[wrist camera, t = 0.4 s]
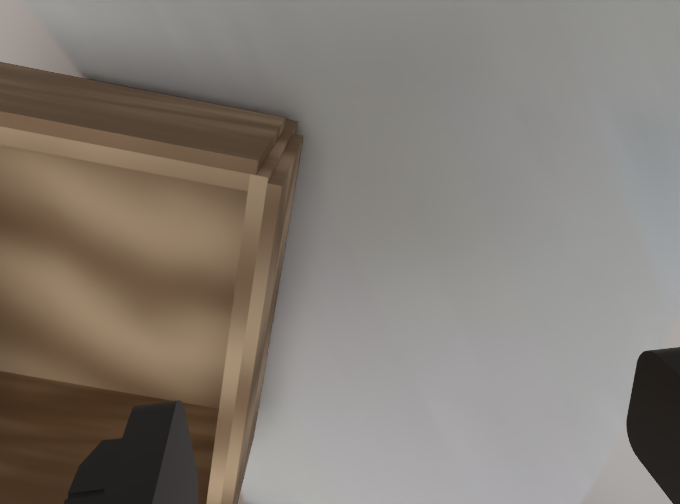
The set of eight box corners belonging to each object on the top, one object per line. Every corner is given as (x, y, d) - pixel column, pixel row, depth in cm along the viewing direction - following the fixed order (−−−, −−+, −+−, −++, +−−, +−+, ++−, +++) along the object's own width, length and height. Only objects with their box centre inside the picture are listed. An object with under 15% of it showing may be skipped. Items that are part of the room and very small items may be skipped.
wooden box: (-40, 44, 28) (-238, 65, 19) (309, 113, 28) (285, 165, 19) (-20, 375, 35) (-154, 508, 26) (257, 423, 36) (222, 568, 27)
